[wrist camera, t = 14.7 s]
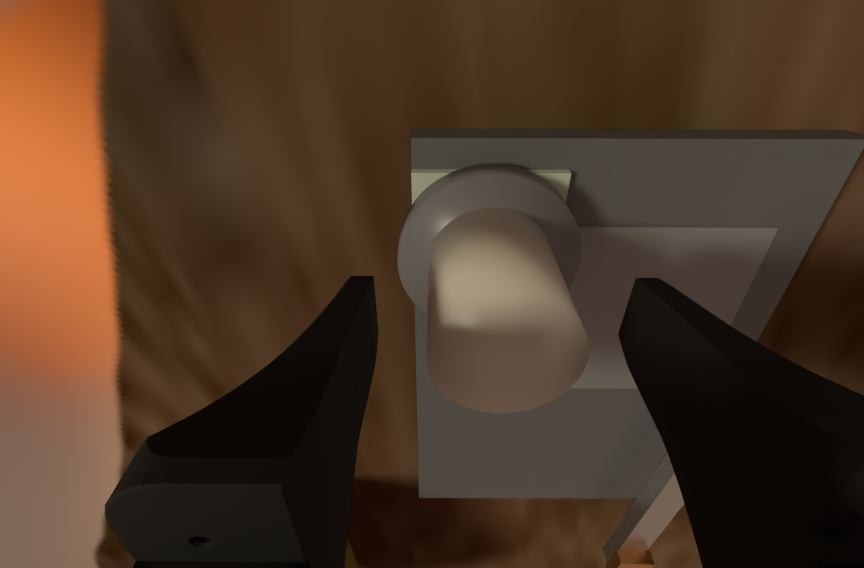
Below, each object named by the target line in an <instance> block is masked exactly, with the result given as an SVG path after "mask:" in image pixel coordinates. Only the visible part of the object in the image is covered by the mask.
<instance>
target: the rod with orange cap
mask: <svg viewBox="0 0 864 568" xmlns="http://www.w3.org/2000/svg"><path fill="white" fill-rule="evenodd" d="M683 505H684V500H683V497H682V494H681V491H680V488H679V484H678V482H677V479H676V476H675V473H674V470H673V467H672V464H671V461H670V459H669V456H668V453H667V454H666V456H665V457H664V459H663V460H662V462H661V463H660V465H659V466H658V468H657V469H656V470H655V472H654V473H653V475H652V476H651V478H650V479H649V481H648V482H647V484H646V485H645V487H644V488H643V489H642V491H641V492H640V494H639V495H638V497H637V498H636V500H635V501H634V503H633V504H632V506H631V507H630V509H629V510H628V511H627V513H626V514H625V516H624V517H623V519H622V520H621V522H620V523H619V525H618V526H617V528H616V529H615V530H614V532H613V533H612V535H611V536H610V538H609V539H608V541H607V542H606V544H605V545H604V547H603V550H604V554H605V557H606V561H607V563H606V564H605V566H606V568H653V567H654V566H655V564H654V561H653V559H652V556H651V553H650V551H647V550H648V549H649V547H650V546H651V545H652V544H653V542H654V541H655V540H656V539H657V537H658V536H659V535H660V534H661V532H662V531H663V530H664V529H665V527H666V526H667V525H668V524H669V522H670V521H671V520H672V519H673V517H674V516H675V515H676V514H677V512H678V511H679V510H680V509H681V507H682V506H683Z"/></svg>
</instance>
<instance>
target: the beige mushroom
mask: <svg viewBox="0 0 864 568" xmlns="http://www.w3.org/2000/svg"><path fill="white" fill-rule="evenodd" d="M581 253H582V245H581V236H580V232H579V228H578V226H577V223H576V221H575V218H574V217H573V215H572V213H571V211H570V209H569V208H568V206H567V204H566V202H565V201H564V199H563V198H562V196H561V195H560V194H559V192H558V191H557V190H556V189H555V188H554V187H553V186H552V185H551V184H550V183H548V182H547V181H546V180H545V179H543V178H541V177H540V176H538V175H537V174H535V173H533V172H530V171H528V170H526V169H523V168H519V167H516V166H512V165H505V164H480V165H473V166H469V167H465V168H462V169H459V170H456V171H453V172H451V173H449V174H447V175H445V176H443V177H441V178H440V179H438V180H437V181H435V182H434V183H432V184H431V185H430V186H429V187H427V188H426V189H425V190H424V191H423V192H422V193H421V194H420V195H419V196H418V198H417V199H416V200H415V201H414V202H413V204H412V205H411V207H410V209H409V210H408V212H407V214H406V216H405V219H404V221H403V224H402V228H401V232H400V240H399V248H398V270H399V276H400V279H401V282H402V285H403V287H404V289H405V291H406V292H407V294H408V296H409V297H410V298H411V300H412V301H413V302H414V304H415V305H416V306H417V307H418V308H419V309H420V310H422V311H423V312H424V313H425V314H426V315H428V321H427V366H428V371H429V374H430V377H431V379H432V381H433V383H434V384H435V386H436V387H437V388H438V389H439V390H440V391H441V392H442V393H443V394H444V395H445V396H446V397H448V398H449V399H450V400H452V401H454V402H455V403H457V404H459V405H461V406H464V407H466V408H469V409H473V410H476V411H481V412H488V413H514V412H520V411H525V410H529V409H533V408H536V407H539V406H542V405H544V404H546V403H548V402H551V401H552V400H554V399H556V398H558V397H559V396H561V395H562V394H563V393H565V392H566V391H567V390H568V389H570V388H571V387H572V386H573V385H574V384H575V383H576V381H577V380H578V379H579V378H580V376H581V375H582V373H583V371H584V369H585V367H586V365H587V361H588V358H589V341H588V337H587V334H586V331H585V329H584V326H583V324H582V322H581V319H580V317H579V314H578V312H577V310H576V307H575V305H574V302H573V300H572V298H571V295H570V293H569V290H568V289H569V288H570V286H571V285H572V283H573V281H574V279H575V277H576V274H577V272H578V269H579V265H580V261H581Z"/></svg>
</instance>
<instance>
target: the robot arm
mask: <svg viewBox="0 0 864 568" xmlns="http://www.w3.org/2000/svg"><path fill="white" fill-rule="evenodd" d="M618 336H619V340H620V343H621V347H622V350H623V354H624V357H625V360H626V363H627V366H628V368H629V370H630V373H631V375H632V377H633V379H634V381H635V383H636V385H637V388H638V390H639V392H640V394H641V396H642V398H643V400H644V402H645V404H646V406H647V409H648V411H649V413H650V415H651V417H652V419H653V421H654V423H655V425H656V427H657V429H658V432H659V434H660V436H661V438H662V441H663V443H664V445H665V448H666V450H667V453H668V456H669V459H670V461H671V464H672V467H673V470H674V473H675V476H676V479H677V482H678V484H679V488H680V491H681V494H682V497H683V500H684V504H685V507H686V510H687V513H688V516H689V519H690V523H691V526H692V530H693V534H694V537H695V541H696V544H697V548H698V551H699V555H700V559H701V562H702V566H703V568H864V395H861V394H859V393H857V392H855V391H852V390H850V389H848V388H846V387H843V386H841V385H839V384H837V383H834V382H832V381H830V380H828V379H826V378H823V377H821V376H819V375H817V374H815V373H813V372H811V371H809V370H807V369H805V368H803V367H801V366H799V365H797V364H795V363H794V362H792V361H790V360H788V359H786V358H784V357H782V356H780V355H778V354H777V353H775V352H773V351H771V350H769V349H768V348H766V347H764V346H763V345H761V344H759V343H758V342H756V341H754V340H753V339H751V338H749V337H748V336H746V335H744V334H743V333H741V332H740V331H738V330H736V329H735V328H733V327H732V326H730V325H729V324H727V323H726V322H724V321H723V320H721V319H720V318H718V317H717V316H715V315H714V314H712V313H711V312H709V311H708V310H706V309H705V308H703V307H702V306H700V305H699V304H697V303H696V302H695V301H693V300H692V299H690V298H689V297H687V296H686V295H684V294H683V293H681V292H680V291H678V290H677V289H675V288H674V287H672V286H671V285H669V284H668V283H666V282H664V281H663V280H661V279H659V278H636V279H635V282H634V285H633V288H632V291H631V295H630V298H629V301H628V304H627V307H626V310H625V314H624V317H623V320H622V323H621V326H620V330H619V333H618ZM377 342H378V323H377V311H376V299H375V287H374V276H351V277H350V278H349V279H348V280H347V281H346V283H345V284H344V285H343V287H342V288H341V289H340V291H339V292H338V293H337V294H336V296H335V297H334V298H333V299H332V301H331V302H330V303H329V304H328V306H327V307H326V308H325V309H324V310H323V311H322V313H321V314H320V315H319V316H318V317H317V318H316V319H315V321H314V322H313V323H312V324H311V325H310V326H309V327H308V328H307V329H306V330H305V331H304V332H303V333H302V334H301V335H300V336H299V337H298V338H297V339H296V340H295V341H294V342H293V343H292V344H291V345H290V346H289V347H288V348H287V349H286V350H285V351H284V352H283V353H281V354H280V355H279V356H278V357H277V358H276V359H274V360H273V361H272V362H271V363H270V364H269V365H267V366H266V367H265V368H263V369H262V370H261V371H259V372H258V373H257V374H255V375H254V376H252V377H251V378H250V379H248V380H247V381H245V382H244V383H243V384H241V385H240V386H239V387H237V388H236V389H234V390H233V391H231V392H229V393H228V394H226V395H225V396H223V397H222V398H220V399H218V400H217V401H215V402H213V403H212V404H210V405H208V406H207V407H205V408H203V409H201V410H200V411H198V412H196V413H194V414H192V415H191V416H189V417H187V418H185V419H183V420H181V421H179V422H177V423H175V424H173V425H171V426H169V427H167V428H165V429H163V430H161V431H159V432H157V433H155V434H153V435H151V436H149V437H147V439H146V440H145V442H144V443H143V445H142V446H141V447H140V449H139V450H138V452H137V453H136V454H135V456H134V458H133V459H132V461H131V463H130V464H129V466H128V468H127V469H126V471H125V473H124V474H123V476H122V478H121V479H120V481H119V483H118V484H117V486H116V488H115V489H114V491H113V493H112V494H111V496H110V498H109V500H108V501H107V503H106V504H105V517H106V519H107V521H108V523H109V525H110V527H111V529H112V530H113V532H114V533H115V534H116V535H117V537H118V538H119V539H120V541H121V542H122V543H123V544H124V546H125V547H126V548H127V550H128V551H129V552H130V553H131V555H132V556H133V557H134V558H135V560H136V562H135V564H134V566H133V568H345V557H346V547H347V537H348V527H349V516H350V507H351V498H352V489H353V480H354V471H355V463H356V455H357V447H358V441H359V436H360V431H361V426H362V422H363V417H364V413H365V408H366V404H367V400H368V395H369V391H370V386H371V382H372V377H373V373H374V368H375V362H376V353H377Z"/></svg>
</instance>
